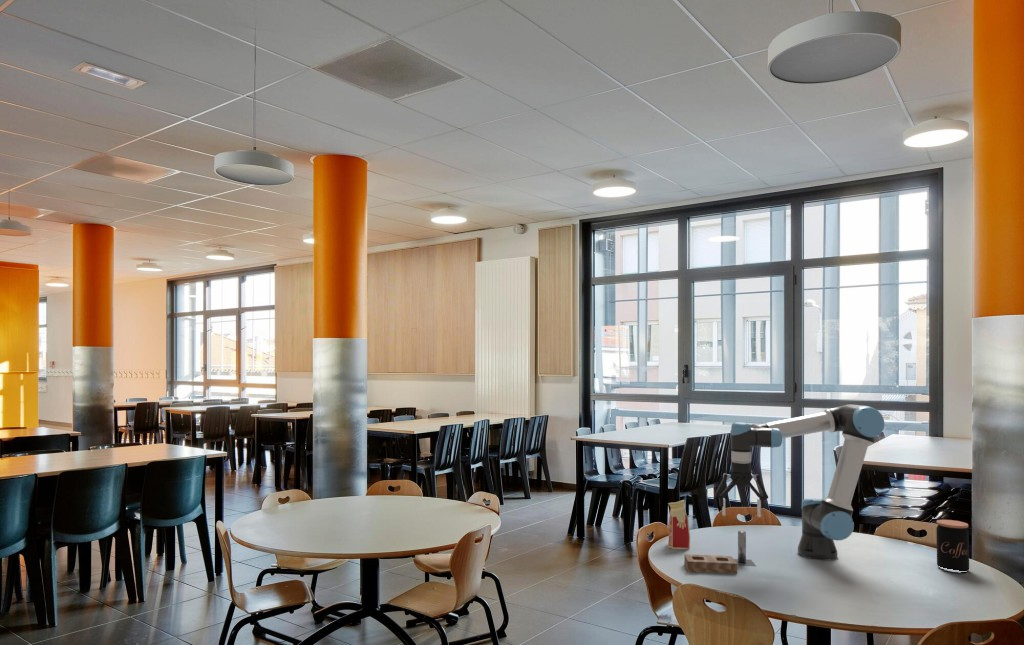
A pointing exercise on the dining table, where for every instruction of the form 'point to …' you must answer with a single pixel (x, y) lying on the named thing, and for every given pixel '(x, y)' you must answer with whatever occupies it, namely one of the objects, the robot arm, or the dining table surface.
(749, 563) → the mat
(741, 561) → the peg
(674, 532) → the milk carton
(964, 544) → the coffee jar
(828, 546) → the robot arm
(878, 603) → the dining table surface
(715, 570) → the hole block
